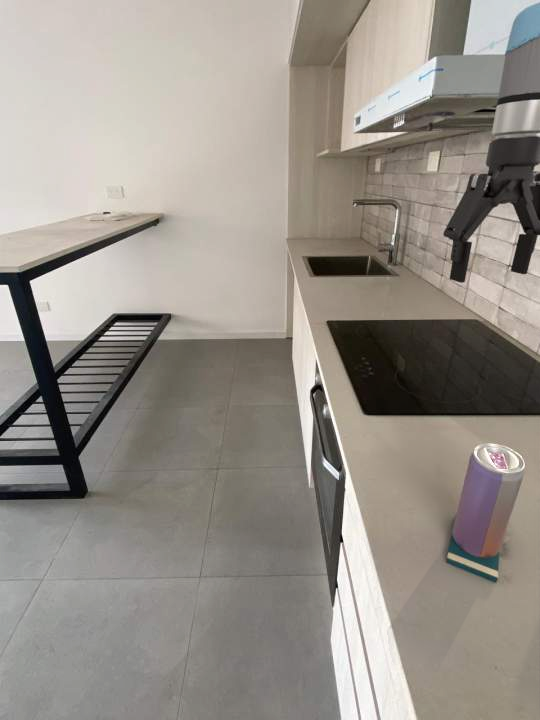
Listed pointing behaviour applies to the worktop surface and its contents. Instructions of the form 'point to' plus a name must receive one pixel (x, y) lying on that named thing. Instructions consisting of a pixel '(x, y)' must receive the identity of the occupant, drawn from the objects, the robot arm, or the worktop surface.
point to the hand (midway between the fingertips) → (488, 276)
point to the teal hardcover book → (473, 562)
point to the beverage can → (487, 499)
